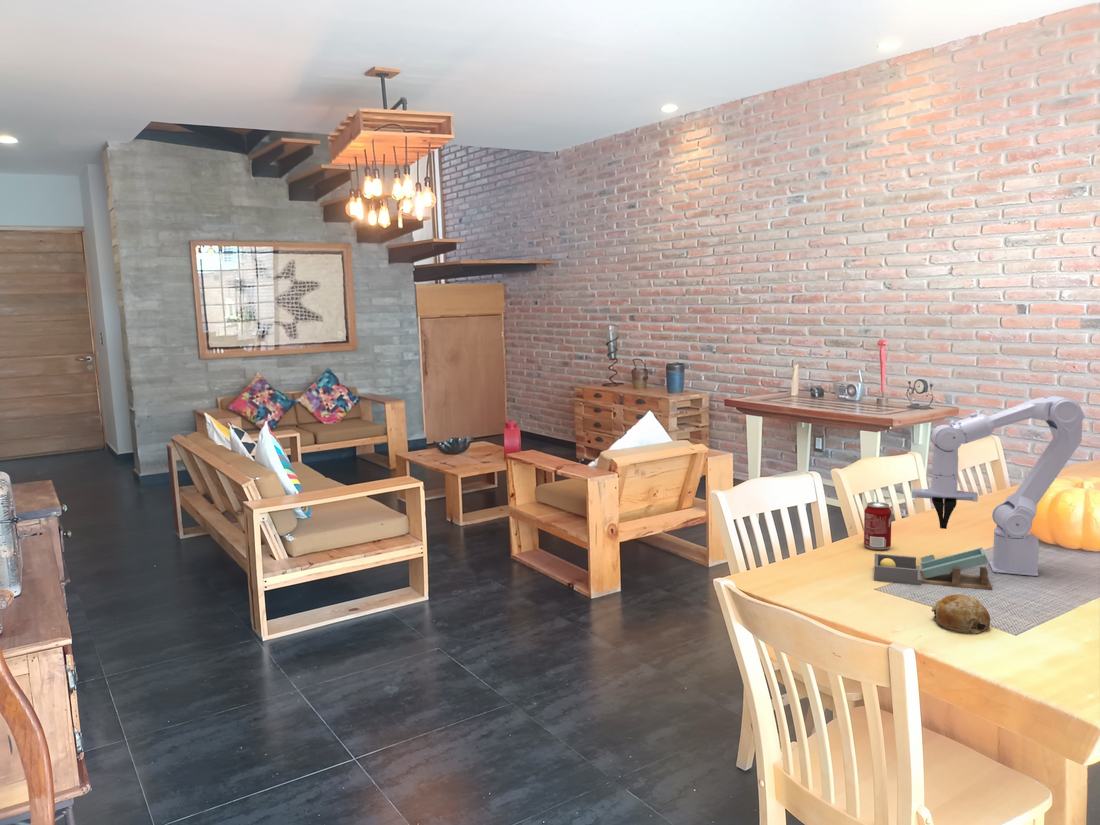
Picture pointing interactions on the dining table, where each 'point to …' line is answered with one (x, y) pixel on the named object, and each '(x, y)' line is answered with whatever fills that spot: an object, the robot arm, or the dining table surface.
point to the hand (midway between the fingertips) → (943, 527)
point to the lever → (952, 562)
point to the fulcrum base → (960, 579)
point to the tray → (897, 570)
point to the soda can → (877, 526)
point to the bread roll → (961, 614)
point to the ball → (887, 562)
